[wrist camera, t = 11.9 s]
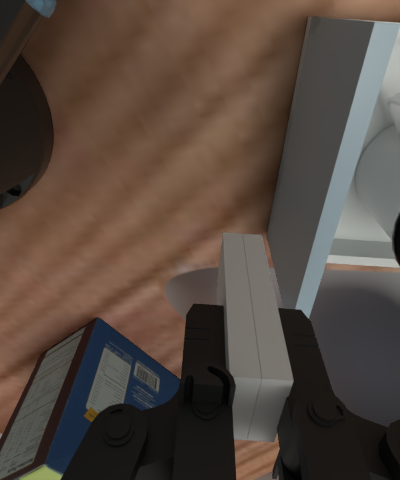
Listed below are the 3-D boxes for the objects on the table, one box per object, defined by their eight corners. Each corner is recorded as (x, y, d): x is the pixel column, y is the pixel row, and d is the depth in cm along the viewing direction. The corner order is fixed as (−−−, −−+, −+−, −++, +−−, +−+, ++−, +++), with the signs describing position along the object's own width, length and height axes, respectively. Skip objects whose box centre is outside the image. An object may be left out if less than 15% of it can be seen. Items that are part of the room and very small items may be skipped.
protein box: (131, 413, 49) (102, 559, 36) (39, 353, 43) (-35, 503, 30) (189, 384, 45) (180, 536, 32) (98, 314, 39) (41, 467, 26)
